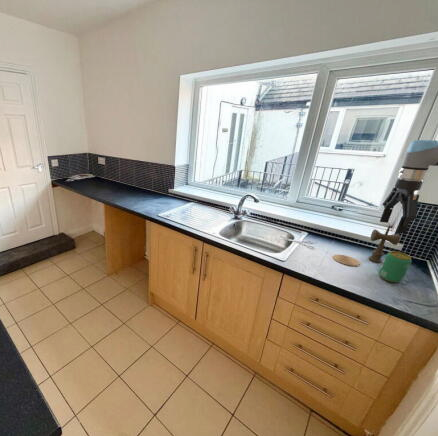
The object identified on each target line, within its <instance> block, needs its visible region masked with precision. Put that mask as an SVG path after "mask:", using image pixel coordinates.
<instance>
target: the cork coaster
mask: <svg viewBox="0 0 438 436" xmlns="http://www.w3.org/2000/svg"><path fill="white" fill-rule="evenodd" d="M332 259H333V260H334V261H336V262H338V263H339V264H342V265H345V266H350V267H357V266H359V265H360V261H359V260H357V259H356V258H354V257H352V256H349V255H345V254H333V255H332Z"/></svg>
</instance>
